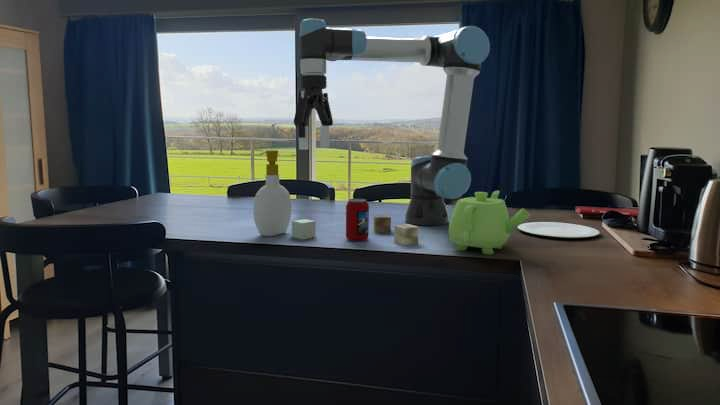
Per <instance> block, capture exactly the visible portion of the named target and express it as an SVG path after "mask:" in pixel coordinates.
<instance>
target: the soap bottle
mask: <svg viewBox="0 0 720 405" xmlns="http://www.w3.org/2000/svg"><path fill="white" fill-rule="evenodd" d="M263 154H264V155H265V154H266V159H267V164H266V166H265V167H266V168H265V169H266V171H265V172H266V173H265V183H264V185H263V186H262V187H261V188H259V190H258V191H257V192H256V194H255V196H254V201H253V220H254V225H255V226H256V228H257V231H258V234H259V235H260V236H263V237H266V238H267V237H274V236H279V235H283V234H285V233H286V232H287V231H288V227H289V224H290V220H291V217H292V199H291V195H290V192H289V191H288V189H286V188H285V187H284V186H283V185H281V184H280V174H279V164H277V162H278V156H279V150H277V149H269V150H267V149H266V150H265V151H264V152H261V153H259V155H263Z"/></svg>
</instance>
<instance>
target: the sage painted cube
mask: <svg viewBox="0 0 720 405" xmlns="http://www.w3.org/2000/svg"><path fill="white" fill-rule="evenodd" d="M291 237H292V238H295V239H299V240H307V239H306V238H308V239H313V238H316V221H315V220H311V219H306V218H304V219H297V220H292V221H291ZM312 237H313V238H312Z"/></svg>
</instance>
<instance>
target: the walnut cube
mask: <svg viewBox="0 0 720 405" xmlns="http://www.w3.org/2000/svg"><path fill="white" fill-rule="evenodd" d="M391 228H392V217H391V215H390V214H373V231H374V233H376V234H377V233H382V234H384V233H386V234H387V233H390V234H391V233H392V231H391V230H392V229H391Z"/></svg>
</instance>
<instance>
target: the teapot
mask: <svg viewBox="0 0 720 405" xmlns="http://www.w3.org/2000/svg"><path fill="white" fill-rule="evenodd" d="M499 194H500V190H495V191H493V192H492V193H491V195H490V197H488V196H489V193H488V192H485V191H475V192H474V196H469V197H464V198H460V199H458V200H457V201H456V204H455V206H454V209H453V211H452V215H451V217H450V220H449V225H448V237H449V240H450V241H451V244H454V245H456V247H455V248H454V250H456V251H460V252H461V251H462V252H463V251H467V249H468V247H471V248H481V253H482V254H484V255H493V254H495V253H494V250H493V249H496V250H502V249H503V246H504V245H505V244H506V243H507V242H508V240H509V238H510V237H511V233H512V232H513V231H514V230H515V229H516V228H518V226H519V225H521V224H524V222H525V221H526V220H527V219H529V218H530V217H531V215H530V213H529V211H527V210H526V209H525V208H523V207H522V208H520V210H519V211H518V212H517V213H516V214H514V215H513V216H512V217H511V218H510V215H509V211H508V208H507V205H506V202H505V200H504V199H502V198H499Z"/></svg>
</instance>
